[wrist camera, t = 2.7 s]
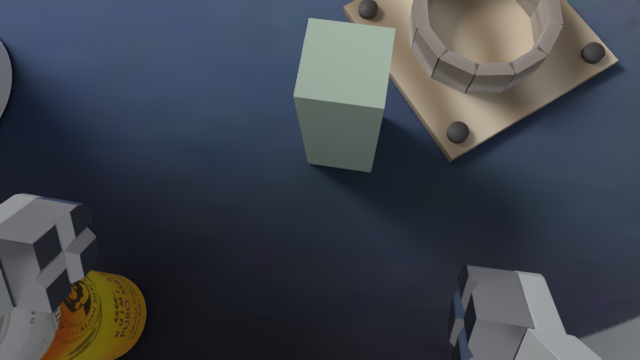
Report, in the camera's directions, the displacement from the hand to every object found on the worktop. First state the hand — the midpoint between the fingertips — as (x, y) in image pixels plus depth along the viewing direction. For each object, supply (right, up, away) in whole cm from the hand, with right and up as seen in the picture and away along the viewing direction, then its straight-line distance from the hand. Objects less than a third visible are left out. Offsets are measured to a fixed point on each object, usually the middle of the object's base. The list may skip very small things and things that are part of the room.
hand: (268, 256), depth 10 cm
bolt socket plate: (+14, +14, +30) cm, 36 cm away
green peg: (+3, +5, +28) cm, 28 cm away
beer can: (-14, -9, +25) cm, 30 cm away
